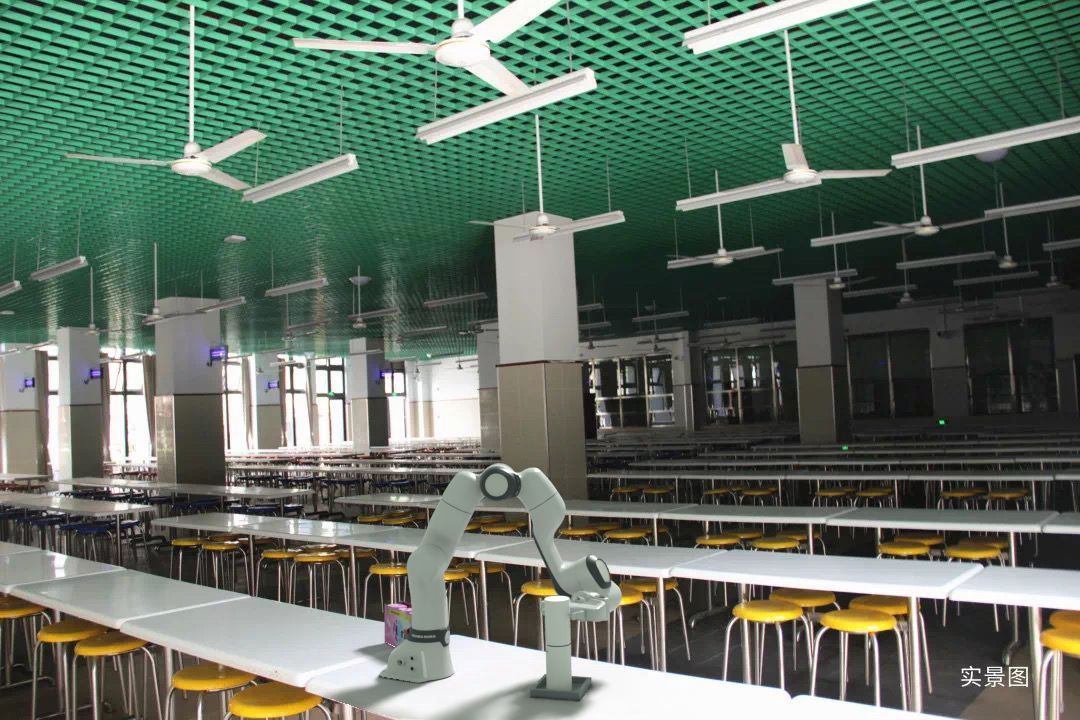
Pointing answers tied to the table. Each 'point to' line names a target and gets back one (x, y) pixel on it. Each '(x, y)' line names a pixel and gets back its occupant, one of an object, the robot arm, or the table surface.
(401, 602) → the pink product box
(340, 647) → the table surface
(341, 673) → the table surface
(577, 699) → the tray
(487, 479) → the robot arm
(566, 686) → the cylindrical container
